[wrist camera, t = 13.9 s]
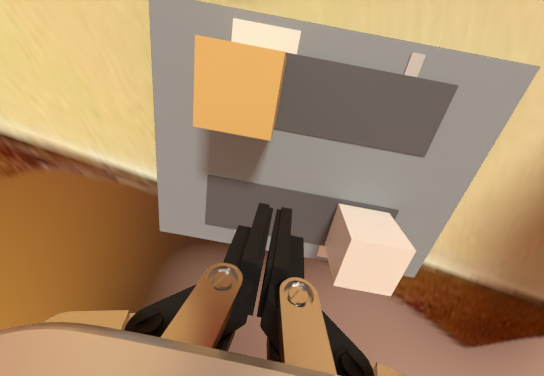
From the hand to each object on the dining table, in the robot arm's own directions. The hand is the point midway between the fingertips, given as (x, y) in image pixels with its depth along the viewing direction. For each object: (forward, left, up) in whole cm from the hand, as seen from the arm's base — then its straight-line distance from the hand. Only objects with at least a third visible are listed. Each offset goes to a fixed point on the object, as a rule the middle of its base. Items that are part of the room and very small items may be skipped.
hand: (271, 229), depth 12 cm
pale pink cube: (-7, +3, -7) cm, 10 cm away
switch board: (-2, -1, -8) cm, 8 cm away
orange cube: (+3, -6, -7) cm, 9 cm away
